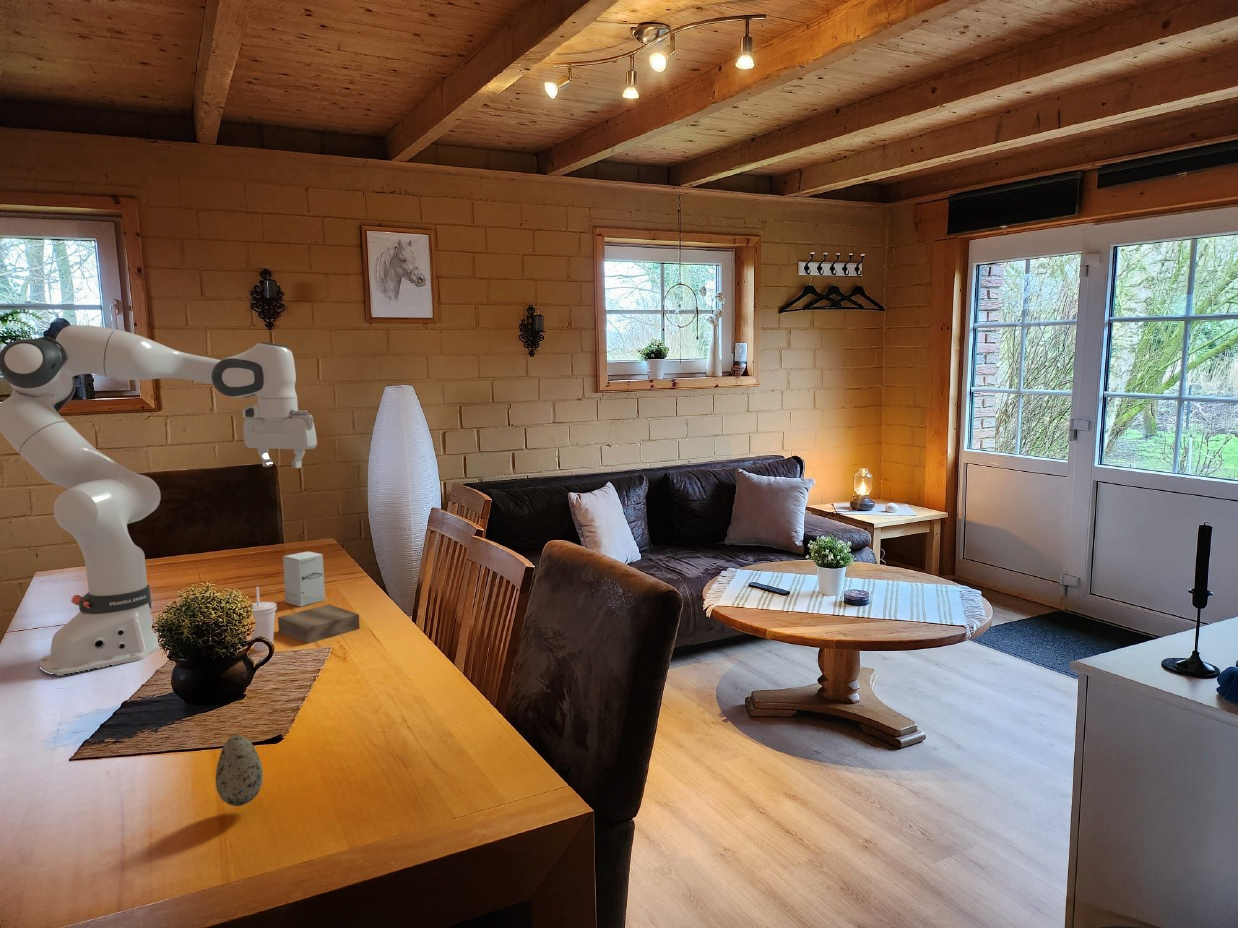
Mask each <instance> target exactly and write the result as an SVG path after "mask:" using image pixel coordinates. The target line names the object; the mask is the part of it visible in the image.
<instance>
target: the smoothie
mask: <svg viewBox="0 0 1238 928" xmlns="http://www.w3.org/2000/svg"><path fill="white" fill-rule="evenodd" d="M255 594H256V602H254V603H252V604H253V609H252V613H253V616H254V619H255V622H256V624H255V628H254V634H253V635H252V636H251V640H252V639H254V638H255V637H259V636H262V637H265V638H267V639H269V641H271V642H272V644H273V645H274V636H275V635H274V634H275V632H274V631H275V621H276V610H277V609H278V607H277V603H276V602H273V601H260V588H259V586H256V587H255ZM253 650H254V652H257V653H258V652H259V653H260V652H261V653H263V652H267V651H269V650H268V649H267V646H266V645H265V644H264V643H262V642H258V643H256V644H254V646H253Z"/></svg>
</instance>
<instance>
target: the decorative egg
mask: <svg viewBox="0 0 1238 928" xmlns="http://www.w3.org/2000/svg"><path fill="white" fill-rule="evenodd" d="M218 757H219V758H218V760H217V766H216V770H215V787H216V791H217V794H218V796H219V797H220V799H221V800H222V801H223V802H224V803H226V804H227V805H230V806H233V807H241V806H244V805H246V804H249V803H250V802H252V801H253V800H254V799H255V797H257V796H258V794H259V792H260V790H261V788H262V785H263V779H264V774H263V773H264V772H263V765H262V761H261V759H260V757H259V754H258V752H257V749H256V748H255V746H254V745H253V744H252V741H250V739H248V738H247V737H246V736H244V735H242V734H234V735H231V737H230V738H228V740H227V741H225V744H224V745H223V747H222V749H221V751H220V755H219V756H218Z"/></svg>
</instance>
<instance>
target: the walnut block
mask: <svg viewBox="0 0 1238 928" xmlns="http://www.w3.org/2000/svg"><path fill="white" fill-rule="evenodd" d="M277 623H278V624H277V625H278V633H279V634H282V635H285V636H286V637H290V638H292V639H295V640H297V641H299V642H301V643H304V644H307V645H309V644H312V643H315V642H319V641H322V640H326V639H329V638H330V639H331V638H333V637H337V636H340V635H343V634H347V633H350V632H354V631H357V629H358V630H360V629H361V628H360V614H359V613H356V612H353V611H350V610H347V609H344V608H341V607H339V606H335V605H333V604H325V605H321V606H316V607H313V608H310V609H305V610H302V611H297V612H294V613H289V614H286V615H282V616H278V617H277Z"/></svg>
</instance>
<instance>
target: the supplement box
mask: <svg viewBox="0 0 1238 928" xmlns="http://www.w3.org/2000/svg"><path fill="white" fill-rule="evenodd" d="M323 556H324V555H323V553H318V552H313V551H303V552H298V553H293V554H288V555H283V556H282V562H283V581H284V582H283V583H284V596H285V597H284V598H285V603H286V604H289V605H294V606H296V607H299V608H302V607H304V606H307V605H311V604H315V603H319V602H323V601H326V593H325V591H326V590H325V574H324V573H325V572H324V557H323Z"/></svg>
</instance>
